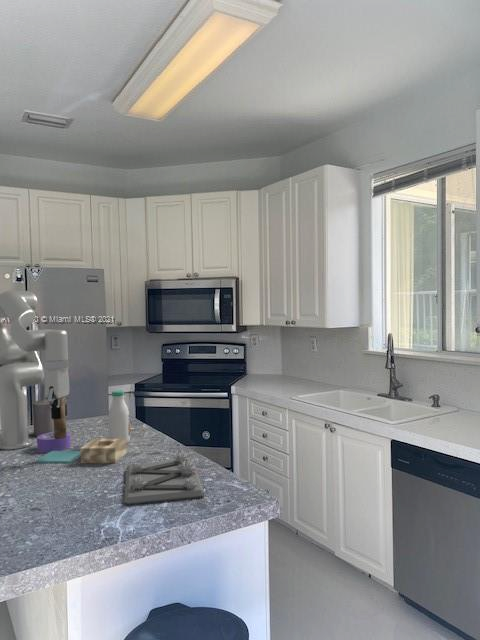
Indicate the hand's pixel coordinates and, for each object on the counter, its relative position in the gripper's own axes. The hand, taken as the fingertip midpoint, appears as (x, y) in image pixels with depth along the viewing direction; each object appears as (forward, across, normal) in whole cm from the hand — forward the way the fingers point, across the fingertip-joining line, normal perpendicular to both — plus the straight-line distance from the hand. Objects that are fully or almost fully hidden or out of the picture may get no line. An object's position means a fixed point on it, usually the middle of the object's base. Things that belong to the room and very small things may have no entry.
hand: (59, 416), depth 175 cm
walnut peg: (+7, 0, 0) cm, 7 cm away
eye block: (+15, 0, +16) cm, 21 cm away
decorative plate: (+16, +24, +42) cm, 51 cm away
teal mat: (+14, 0, 0) cm, 14 cm away
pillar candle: (+14, -32, -21) cm, 41 cm away
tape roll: (+15, -12, -8) cm, 21 cm away
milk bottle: (+15, -19, +15) cm, 28 cm away
